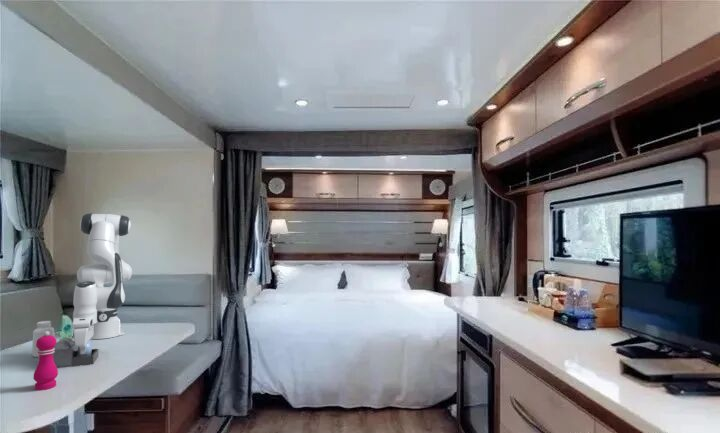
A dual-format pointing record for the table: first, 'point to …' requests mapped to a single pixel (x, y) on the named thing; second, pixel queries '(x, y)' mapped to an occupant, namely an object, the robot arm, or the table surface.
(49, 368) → the pepper mill
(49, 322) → the pill bottle
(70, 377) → the table surface
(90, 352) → the light blue bottle
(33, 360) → the table surface
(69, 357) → the dark grey piece
